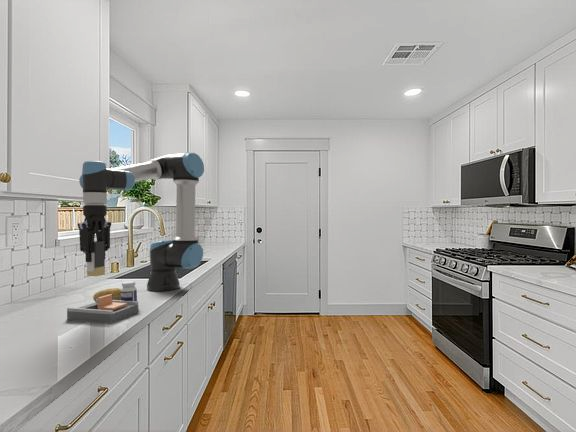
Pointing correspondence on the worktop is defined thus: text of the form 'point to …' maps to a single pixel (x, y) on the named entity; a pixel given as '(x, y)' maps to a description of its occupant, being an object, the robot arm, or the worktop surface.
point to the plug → (98, 259)
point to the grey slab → (102, 312)
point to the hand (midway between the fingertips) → (95, 270)
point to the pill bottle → (129, 291)
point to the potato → (115, 294)
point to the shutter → (108, 303)
